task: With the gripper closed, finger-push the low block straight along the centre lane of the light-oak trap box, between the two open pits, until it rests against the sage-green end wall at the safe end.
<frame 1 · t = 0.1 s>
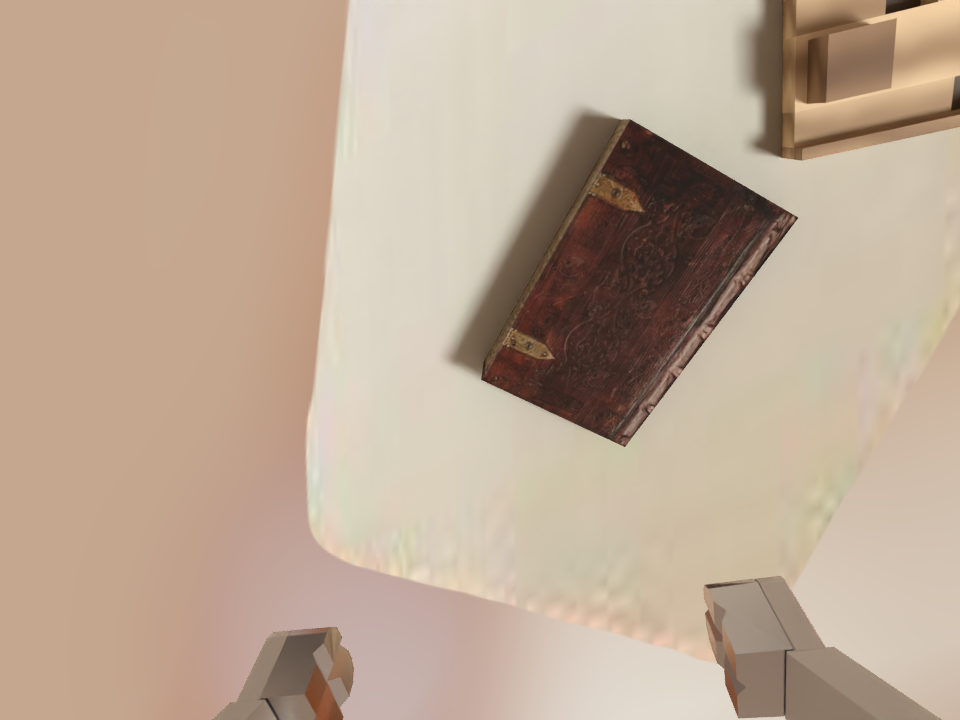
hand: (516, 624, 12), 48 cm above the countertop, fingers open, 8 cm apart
hardback book: (619, 291, 58), on the countertop
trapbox: (914, 46, 47), on the countertop
block: (838, 65, 46), point 2 cm above the countertop, touching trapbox
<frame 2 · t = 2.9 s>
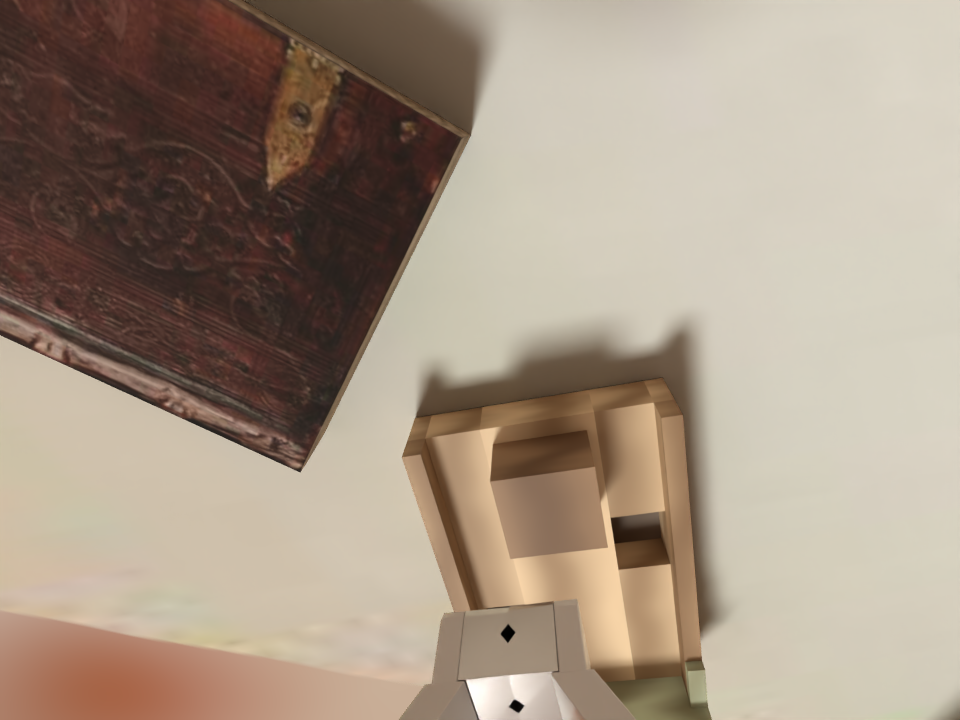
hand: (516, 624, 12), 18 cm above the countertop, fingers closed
hardback book: (128, 162, 26), on the countertop
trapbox: (564, 546, 34), on the countertop
block: (547, 475, 29), point 2 cm above the countertop, touching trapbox
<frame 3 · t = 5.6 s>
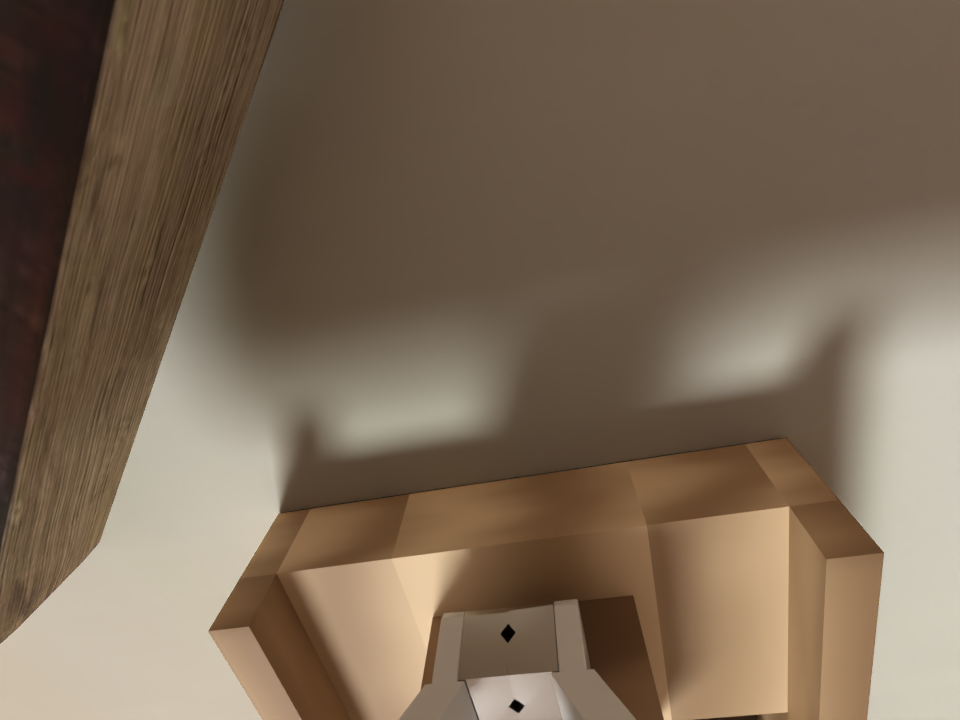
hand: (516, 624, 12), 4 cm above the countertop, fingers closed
block: (547, 673, 14), point 2 cm above the countertop, touching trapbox
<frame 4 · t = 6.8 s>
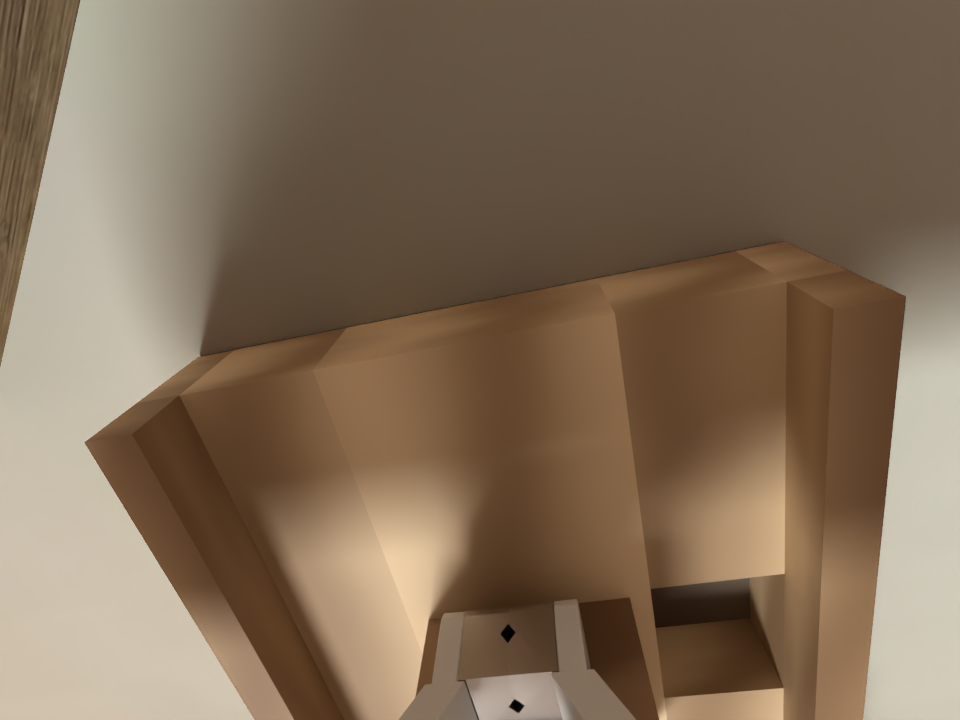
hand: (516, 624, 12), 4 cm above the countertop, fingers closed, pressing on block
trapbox: (547, 630, 17), on the countertop
block: (543, 675, 14), point 2 cm above the countertop, touching gripper, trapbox
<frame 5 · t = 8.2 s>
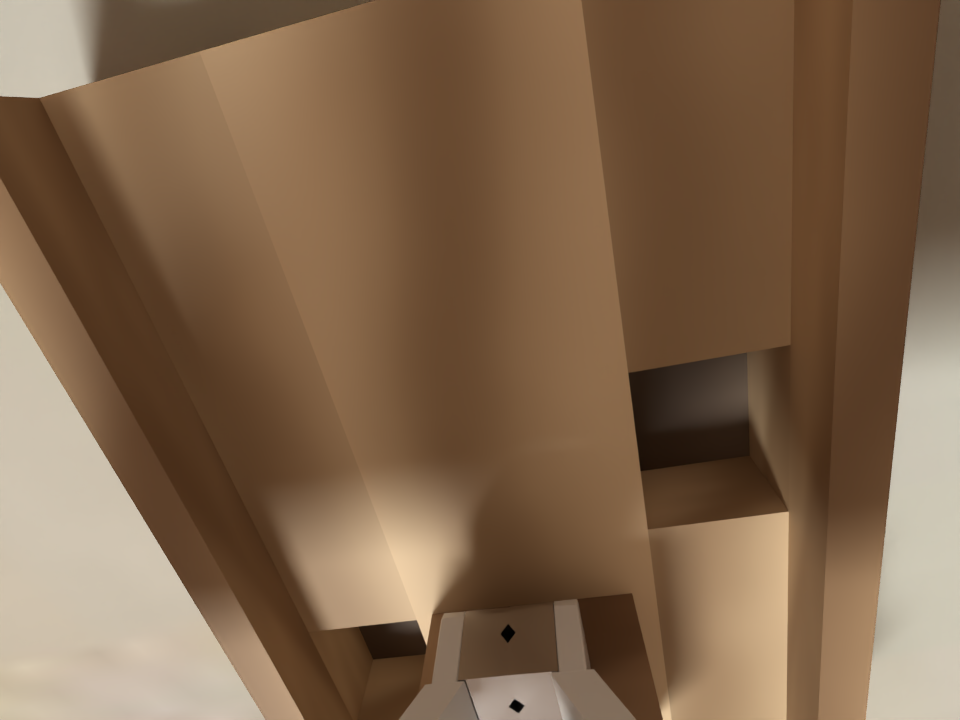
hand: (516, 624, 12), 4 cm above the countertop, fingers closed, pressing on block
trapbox: (516, 482, 15), on the countertop
block: (545, 670, 14), point 2 cm above the countertop, touching gripper, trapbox
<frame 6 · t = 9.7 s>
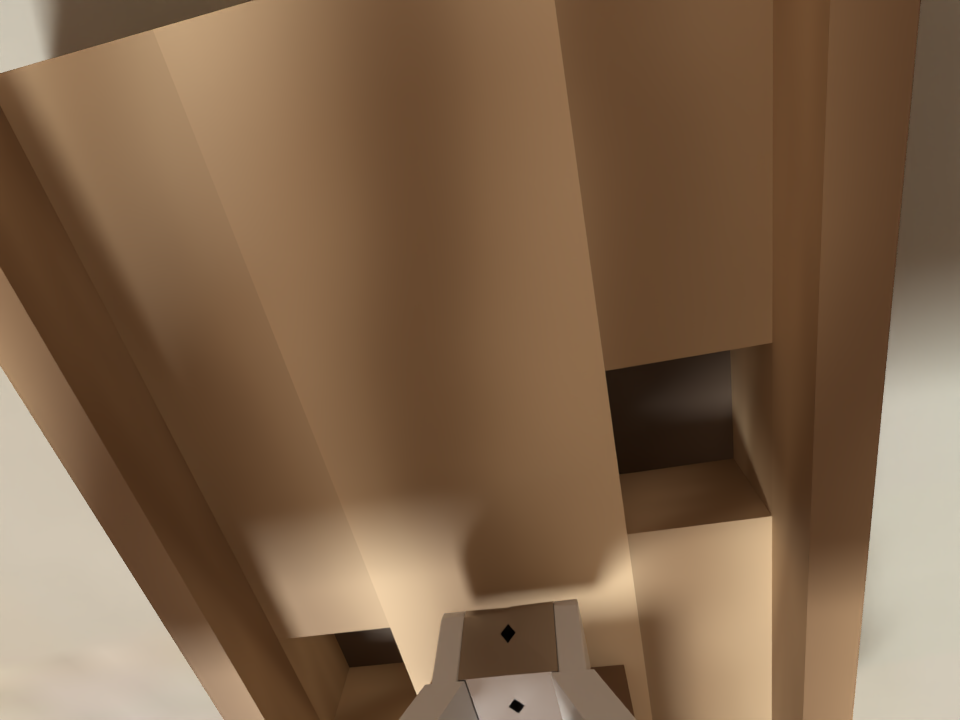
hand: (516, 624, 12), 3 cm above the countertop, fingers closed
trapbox: (495, 485, 14), on the countertop
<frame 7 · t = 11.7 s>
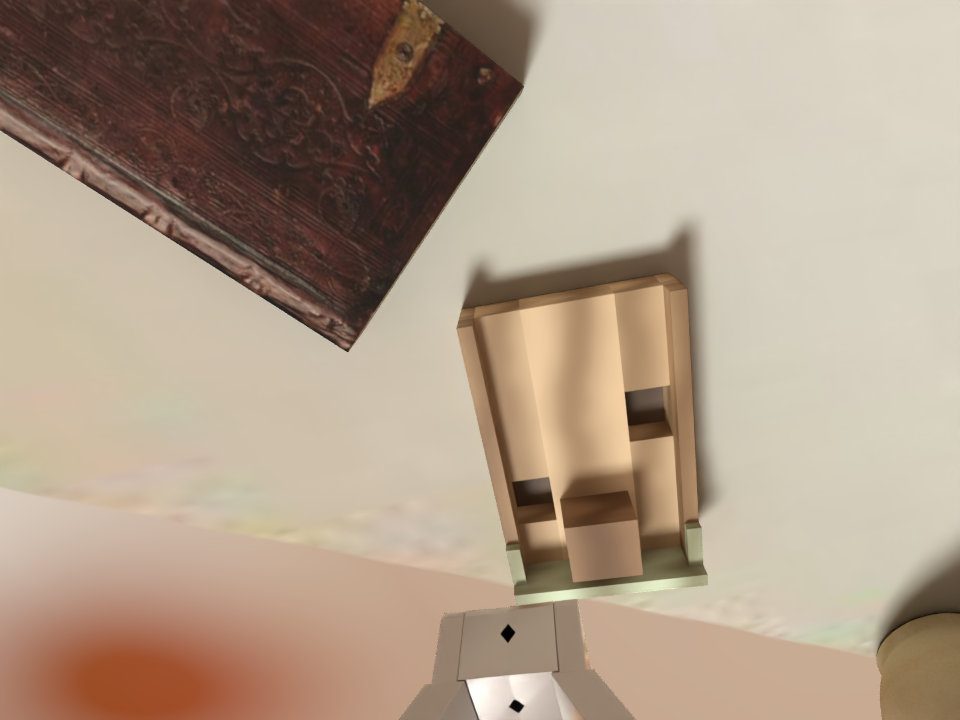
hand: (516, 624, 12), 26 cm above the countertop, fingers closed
planter bowl: (928, 647, 47), on the countertop
hardback book: (237, 80, 32), on the countertop
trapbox: (582, 430, 40), on the countertop
block: (597, 521, 40), point 2 cm above the countertop, touching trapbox
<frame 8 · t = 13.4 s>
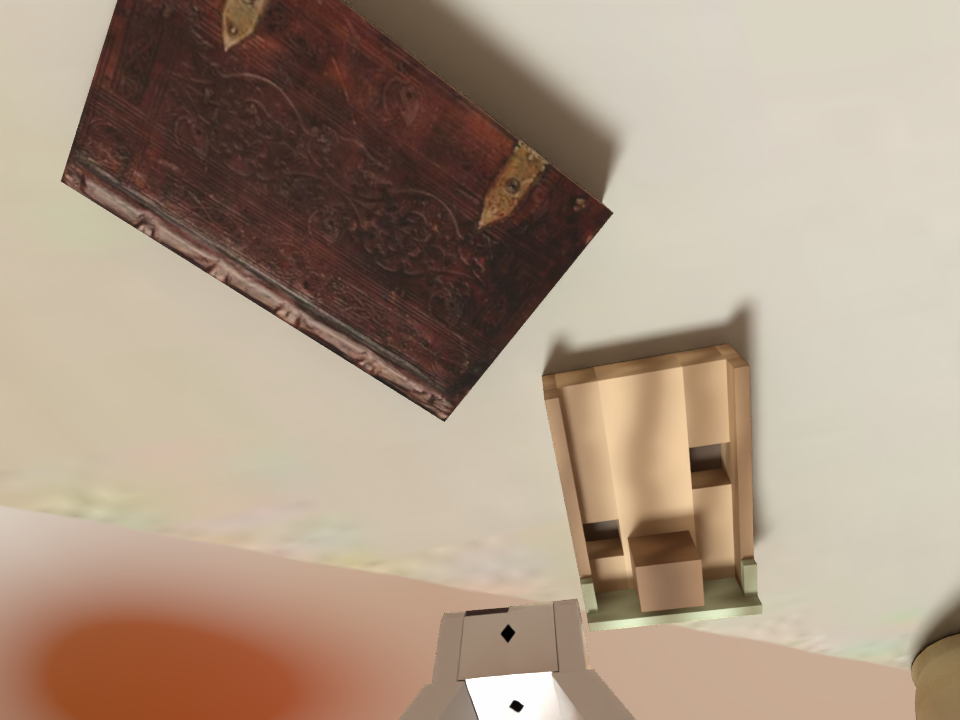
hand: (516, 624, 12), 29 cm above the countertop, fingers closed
planter bowl: (959, 660, 52), on the countertop
hardback book: (352, 189, 37), on the countertop
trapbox: (646, 476, 45), on the countertop
block: (660, 556, 45), point 2 cm above the countertop, touching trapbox
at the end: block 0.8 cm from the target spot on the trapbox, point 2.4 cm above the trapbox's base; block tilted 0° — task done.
